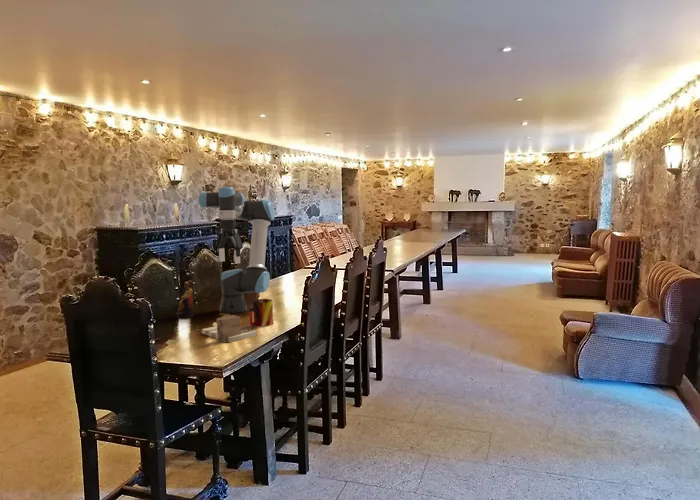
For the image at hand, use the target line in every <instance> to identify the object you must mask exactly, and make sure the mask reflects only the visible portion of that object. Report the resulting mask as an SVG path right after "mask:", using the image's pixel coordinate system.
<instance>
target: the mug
mask: <svg viewBox="0 0 700 500" xmlns="http://www.w3.org/2000/svg"><path fill="white" fill-rule="evenodd" d="M273 306H274V305H273V299H271V298H258V299H254V300H252V307H250V308H249V309H248V310H249V311H248V313H249V325H252V327H258V328H261V327H263V328H264V327H270V326H273V325H274V311H273V310H274V307H273Z"/></svg>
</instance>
